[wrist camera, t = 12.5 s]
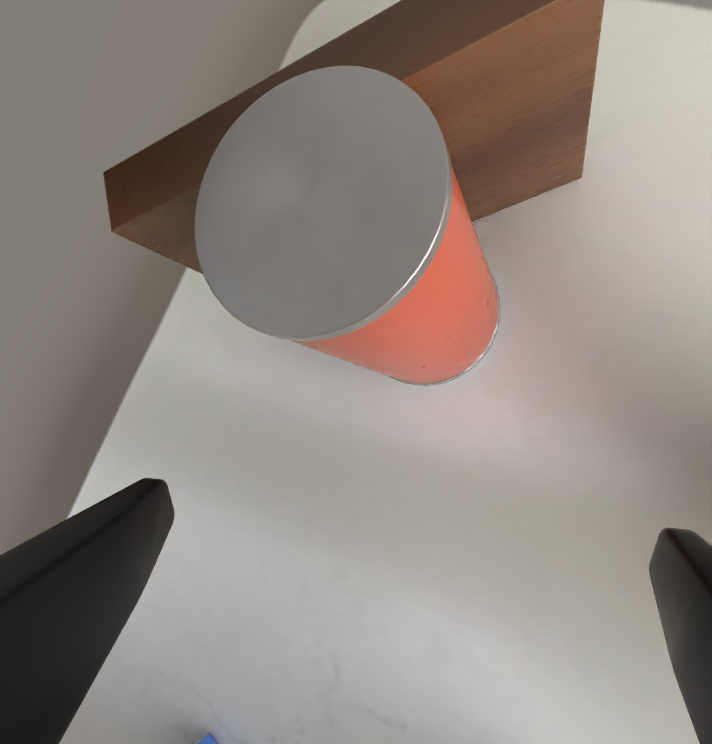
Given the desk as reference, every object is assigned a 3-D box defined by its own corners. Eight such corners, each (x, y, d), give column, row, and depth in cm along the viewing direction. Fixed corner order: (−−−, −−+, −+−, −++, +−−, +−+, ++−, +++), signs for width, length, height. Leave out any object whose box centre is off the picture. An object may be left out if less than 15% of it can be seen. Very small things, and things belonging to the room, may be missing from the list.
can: (520, 360, 21) (488, 277, 10) (377, 402, 23) (217, 374, 12) (476, 222, 22) (403, 12, 11) (345, 274, 24) (176, 141, 13)
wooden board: (582, 177, 21) (609, -28, 12) (266, 304, 26) (110, 232, 17) (564, 130, 21) (575, -102, 12) (258, 263, 26) (102, 172, 17)
